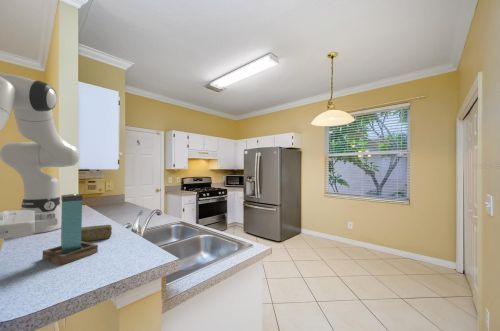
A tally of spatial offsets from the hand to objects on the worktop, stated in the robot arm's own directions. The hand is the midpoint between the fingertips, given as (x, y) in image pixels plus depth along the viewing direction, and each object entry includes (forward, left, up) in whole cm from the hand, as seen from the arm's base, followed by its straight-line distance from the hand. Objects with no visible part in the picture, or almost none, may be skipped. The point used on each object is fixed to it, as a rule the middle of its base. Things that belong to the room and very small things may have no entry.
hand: (56, 218), depth 65 cm
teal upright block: (+1, +3, -11) cm, 12 cm away
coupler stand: (+1, +3, -13) cm, 13 cm away
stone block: (-8, +17, -13) cm, 23 cm away
